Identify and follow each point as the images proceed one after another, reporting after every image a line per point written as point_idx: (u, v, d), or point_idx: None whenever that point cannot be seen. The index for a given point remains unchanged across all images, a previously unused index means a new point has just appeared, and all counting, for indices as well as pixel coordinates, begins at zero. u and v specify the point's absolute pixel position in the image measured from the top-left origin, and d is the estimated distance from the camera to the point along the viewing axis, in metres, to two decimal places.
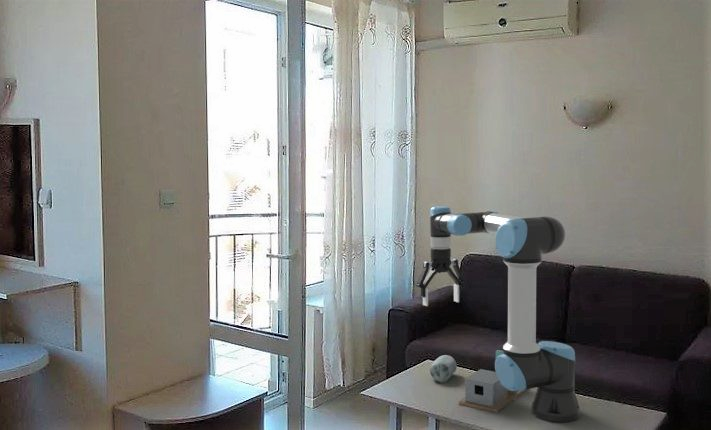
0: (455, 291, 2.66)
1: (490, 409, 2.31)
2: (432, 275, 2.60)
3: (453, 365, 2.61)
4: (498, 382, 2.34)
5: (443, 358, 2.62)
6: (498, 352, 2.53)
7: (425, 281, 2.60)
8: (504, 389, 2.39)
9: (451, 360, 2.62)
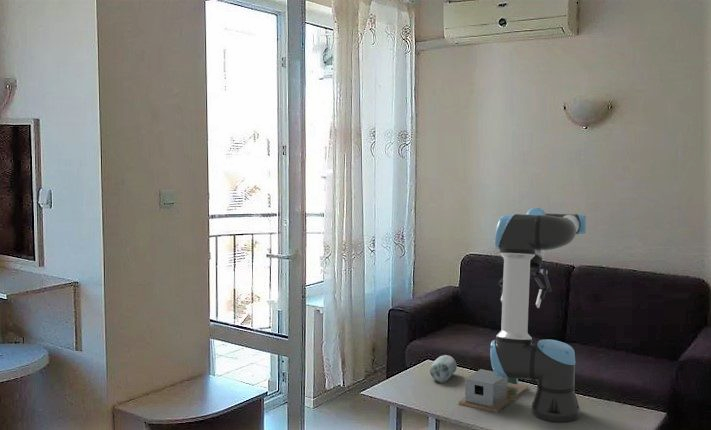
0: None
1: (490, 409, 2.31)
2: None
3: (453, 365, 2.61)
4: (498, 382, 2.34)
5: (443, 358, 2.62)
6: None
7: None
8: (504, 389, 2.39)
9: (451, 360, 2.62)
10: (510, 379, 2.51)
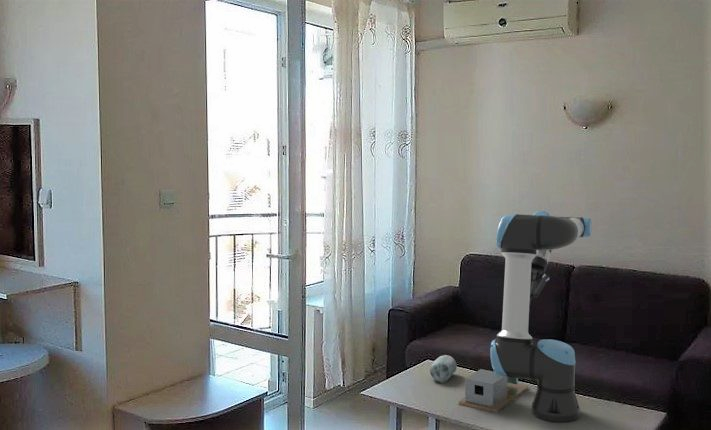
0: None
1: (490, 409, 2.31)
2: None
3: (453, 365, 2.61)
4: (498, 382, 2.34)
5: (443, 358, 2.62)
6: None
7: None
8: (504, 389, 2.39)
9: (451, 360, 2.62)
10: (510, 379, 2.51)
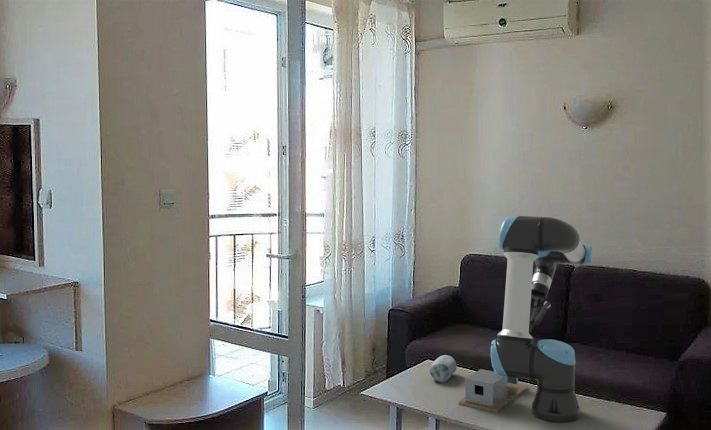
0: None
1: (490, 409, 2.31)
2: None
3: (453, 365, 2.61)
4: (498, 382, 2.34)
5: (443, 358, 2.62)
6: None
7: None
8: (504, 389, 2.39)
9: (451, 360, 2.62)
10: (510, 379, 2.51)
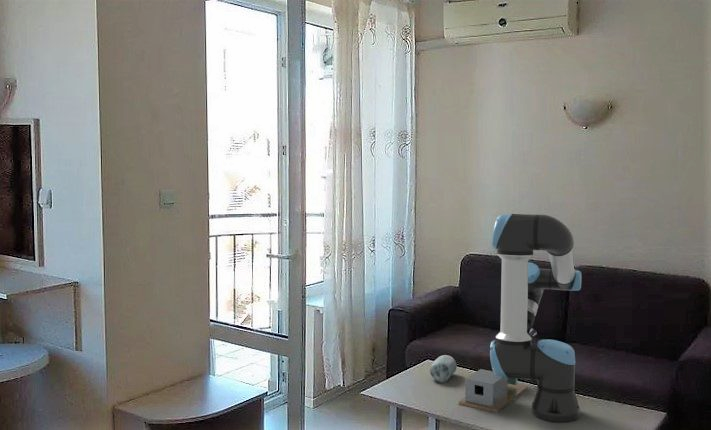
0: None
1: (490, 409, 2.31)
2: None
3: (453, 365, 2.61)
4: (498, 382, 2.34)
5: (443, 358, 2.62)
6: None
7: None
8: (504, 389, 2.39)
9: (451, 360, 2.62)
10: (509, 380, 2.50)
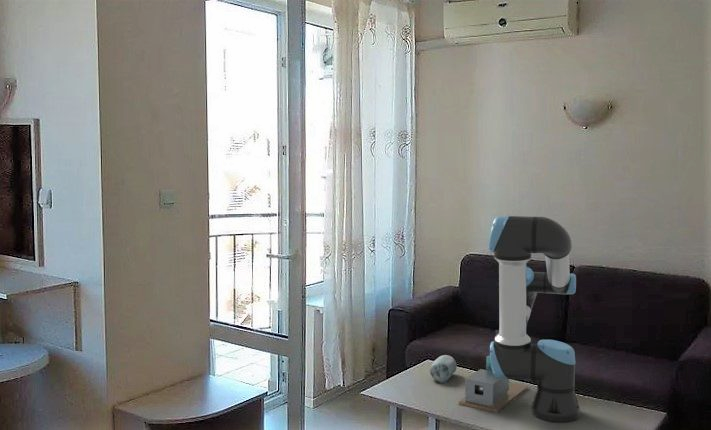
0: None
1: (490, 409, 2.31)
2: None
3: (453, 365, 2.61)
4: (498, 382, 2.34)
5: (443, 358, 2.62)
6: (489, 358, 2.46)
7: None
8: (504, 389, 2.39)
9: (451, 360, 2.62)
10: None
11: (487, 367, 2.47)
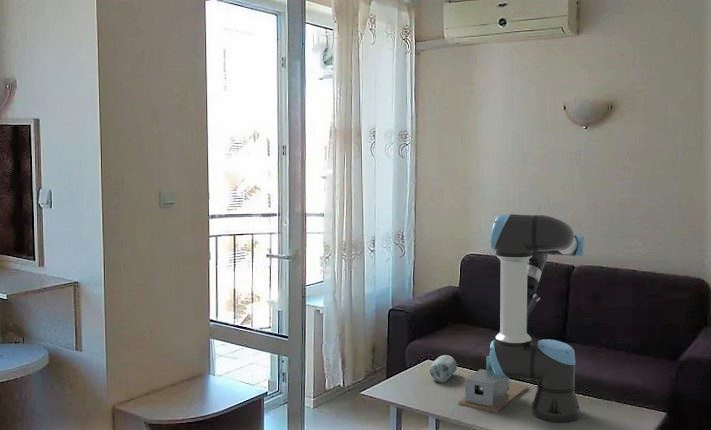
0: None
1: (490, 409, 2.31)
2: None
3: (453, 365, 2.61)
4: (498, 382, 2.34)
5: (443, 358, 2.62)
6: (489, 358, 2.46)
7: None
8: (504, 389, 2.39)
9: (451, 360, 2.62)
10: None
11: (487, 367, 2.47)
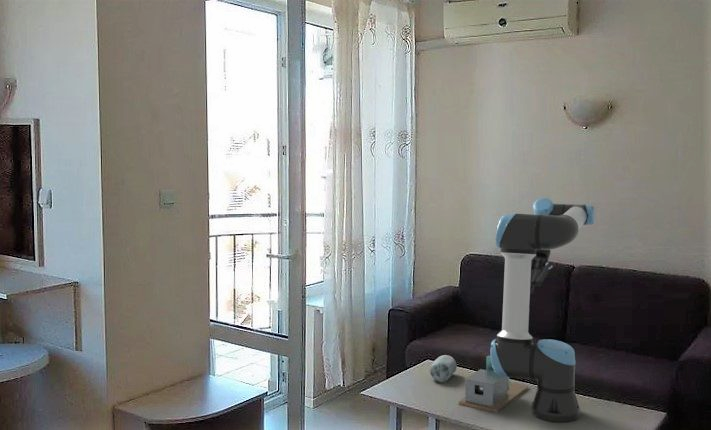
0: None
1: (490, 409, 2.31)
2: None
3: (453, 365, 2.61)
4: (498, 382, 2.34)
5: (443, 358, 2.62)
6: (489, 358, 2.46)
7: None
8: (504, 389, 2.39)
9: (451, 360, 2.62)
10: None
11: (487, 367, 2.47)
